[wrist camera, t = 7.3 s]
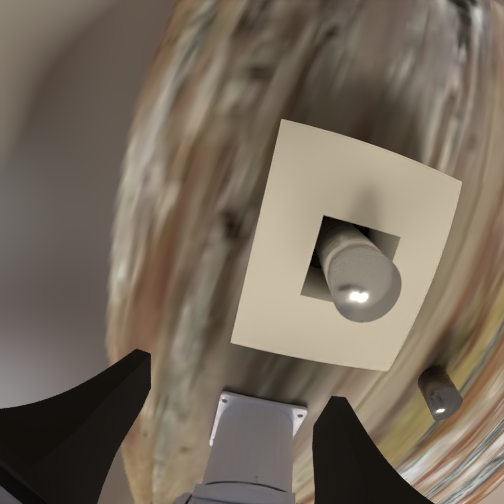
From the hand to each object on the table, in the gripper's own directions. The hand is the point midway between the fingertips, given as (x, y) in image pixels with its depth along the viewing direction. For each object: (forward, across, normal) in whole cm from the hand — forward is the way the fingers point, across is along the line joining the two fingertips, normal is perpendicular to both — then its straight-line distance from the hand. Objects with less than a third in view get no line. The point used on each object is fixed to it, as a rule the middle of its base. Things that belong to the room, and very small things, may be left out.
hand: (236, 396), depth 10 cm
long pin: (+10, -4, -4) cm, 12 cm away
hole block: (+10, -4, -4) cm, 12 cm away
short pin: (+10, -18, +6) cm, 22 cm away
